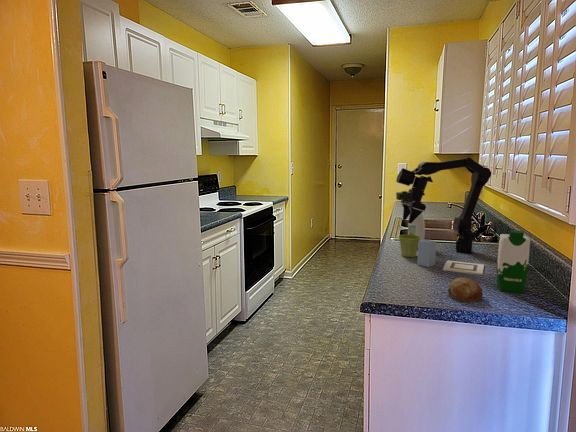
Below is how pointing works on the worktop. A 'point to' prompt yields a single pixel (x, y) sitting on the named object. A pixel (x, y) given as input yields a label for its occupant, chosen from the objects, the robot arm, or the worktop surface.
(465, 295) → the bread roll
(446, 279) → the worktop surface
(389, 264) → the worktop surface
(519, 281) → the milk carton
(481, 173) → the robot arm
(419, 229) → the milk bottle
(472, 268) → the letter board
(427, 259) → the blue block
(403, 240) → the plant pot
